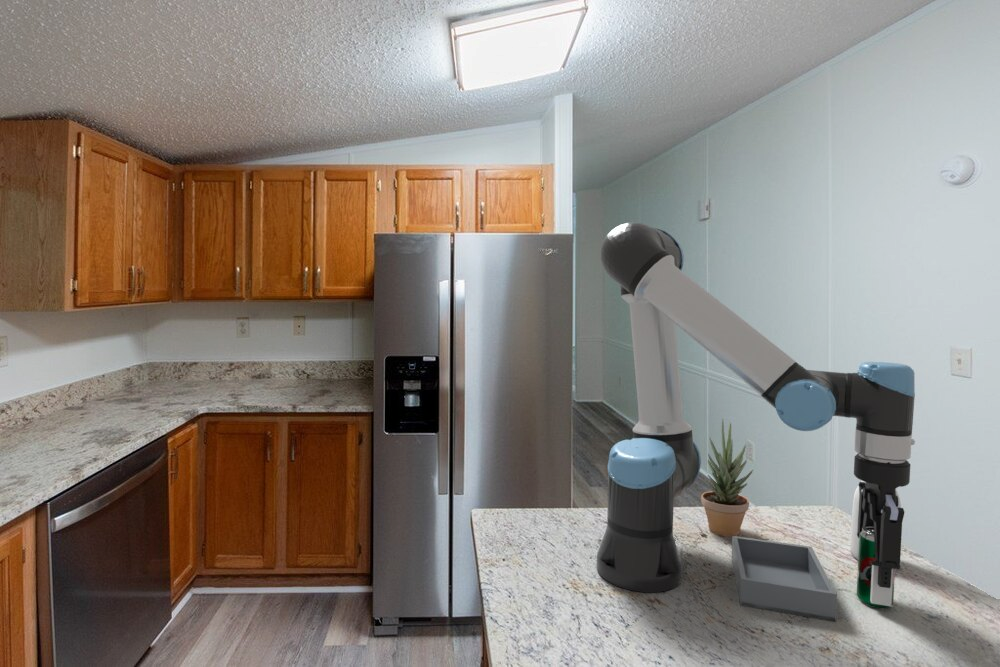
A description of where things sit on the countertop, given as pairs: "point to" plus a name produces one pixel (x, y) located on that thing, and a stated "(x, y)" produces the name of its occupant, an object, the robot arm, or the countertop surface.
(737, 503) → the potted plant
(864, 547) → the soda can
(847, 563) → the countertop surface
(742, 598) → the bin
